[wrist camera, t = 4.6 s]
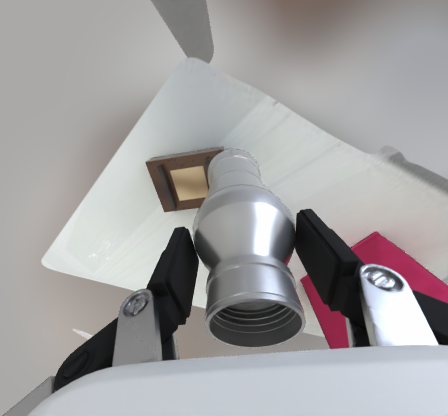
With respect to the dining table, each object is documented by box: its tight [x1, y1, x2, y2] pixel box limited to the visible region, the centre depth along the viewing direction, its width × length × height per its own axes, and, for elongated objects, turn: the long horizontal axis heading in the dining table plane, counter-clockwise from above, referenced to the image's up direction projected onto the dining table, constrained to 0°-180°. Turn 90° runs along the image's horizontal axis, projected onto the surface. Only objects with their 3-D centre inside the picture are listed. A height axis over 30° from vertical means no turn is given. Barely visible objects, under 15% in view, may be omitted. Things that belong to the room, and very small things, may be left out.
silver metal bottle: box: [192, 149, 306, 348], centre depth 15 cm, size 6×7×20 cm
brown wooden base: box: [145, 146, 224, 212], centre depth 37 cm, size 12×16×6 cm
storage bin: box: [300, 232, 448, 349], centre depth 43 cm, size 28×29×28 cm
